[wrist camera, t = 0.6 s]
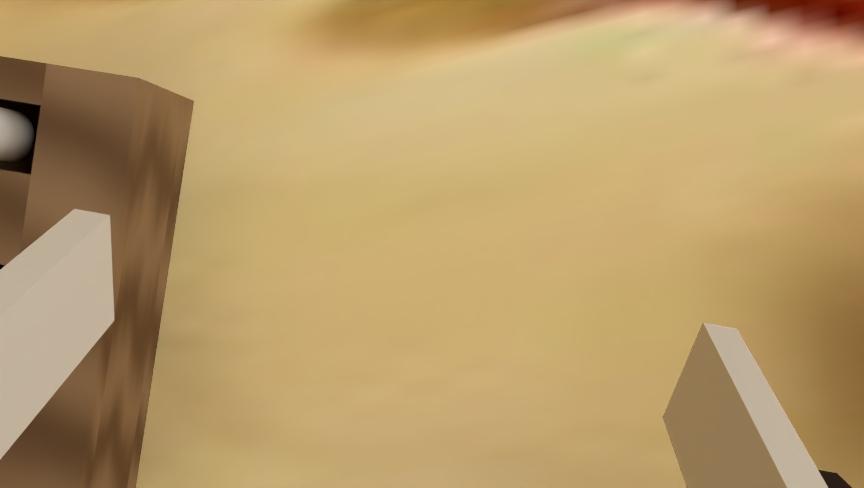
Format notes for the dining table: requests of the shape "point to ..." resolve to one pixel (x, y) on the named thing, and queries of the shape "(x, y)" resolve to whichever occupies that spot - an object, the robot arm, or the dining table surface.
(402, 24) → the dining table surface
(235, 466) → the dining table surface
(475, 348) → the dining table surface
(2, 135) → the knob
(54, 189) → the knob console
